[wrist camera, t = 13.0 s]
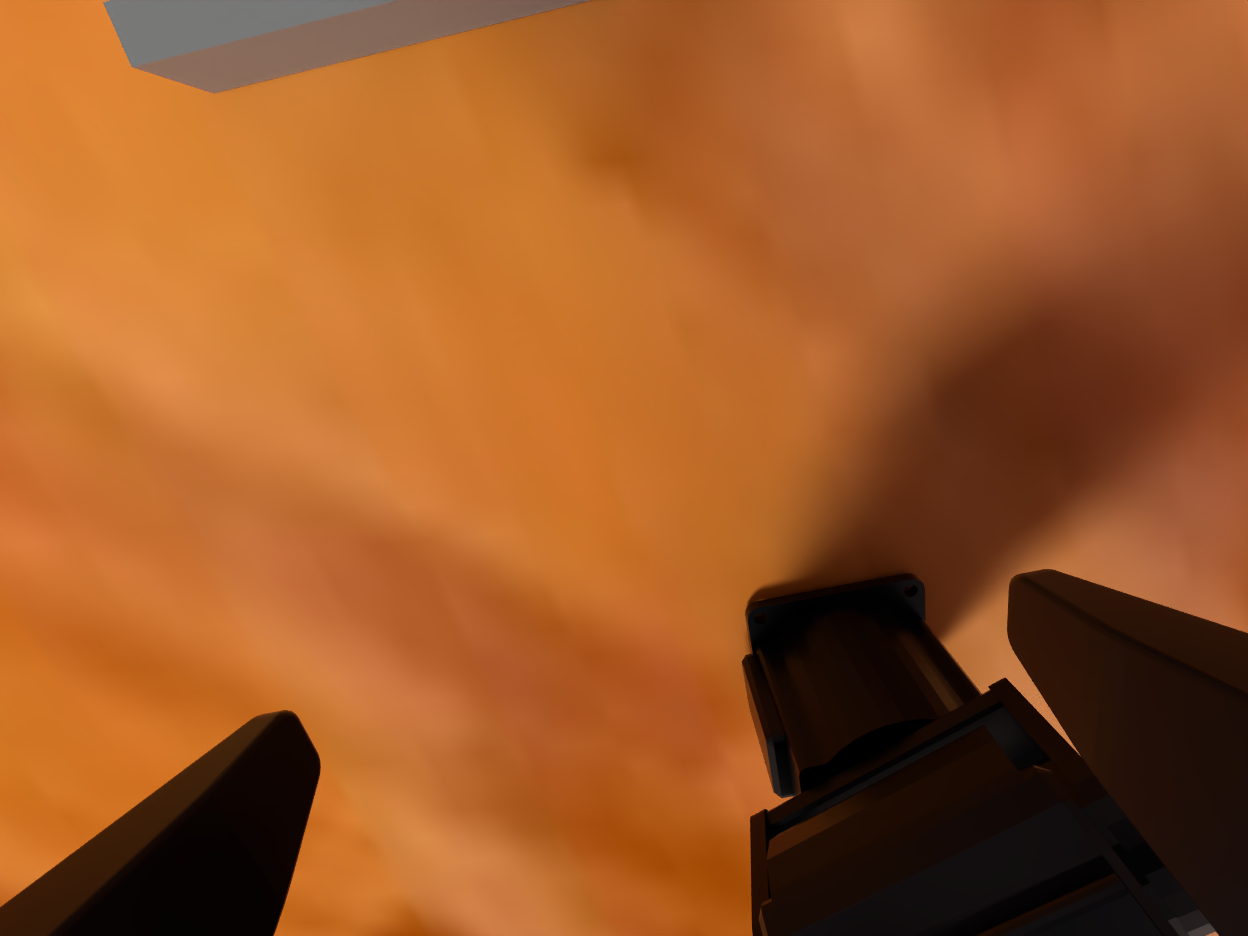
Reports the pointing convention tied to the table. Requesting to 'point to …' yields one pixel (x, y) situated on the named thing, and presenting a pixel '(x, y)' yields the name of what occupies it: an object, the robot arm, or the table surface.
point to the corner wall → (288, 33)
